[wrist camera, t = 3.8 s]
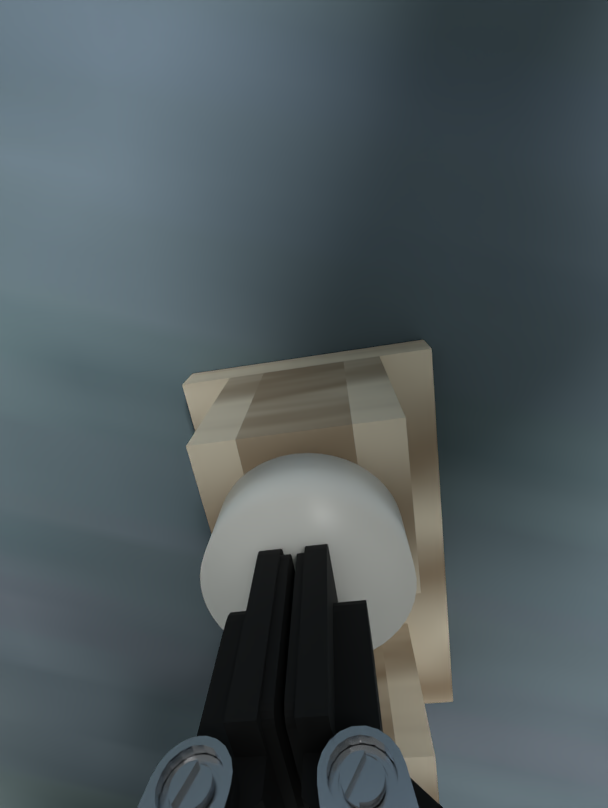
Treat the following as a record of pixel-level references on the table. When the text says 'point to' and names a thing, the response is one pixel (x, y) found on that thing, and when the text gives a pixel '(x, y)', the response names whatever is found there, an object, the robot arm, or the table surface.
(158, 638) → the table surface
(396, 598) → the plug
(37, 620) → the table surface
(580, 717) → the table surface
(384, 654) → the block
